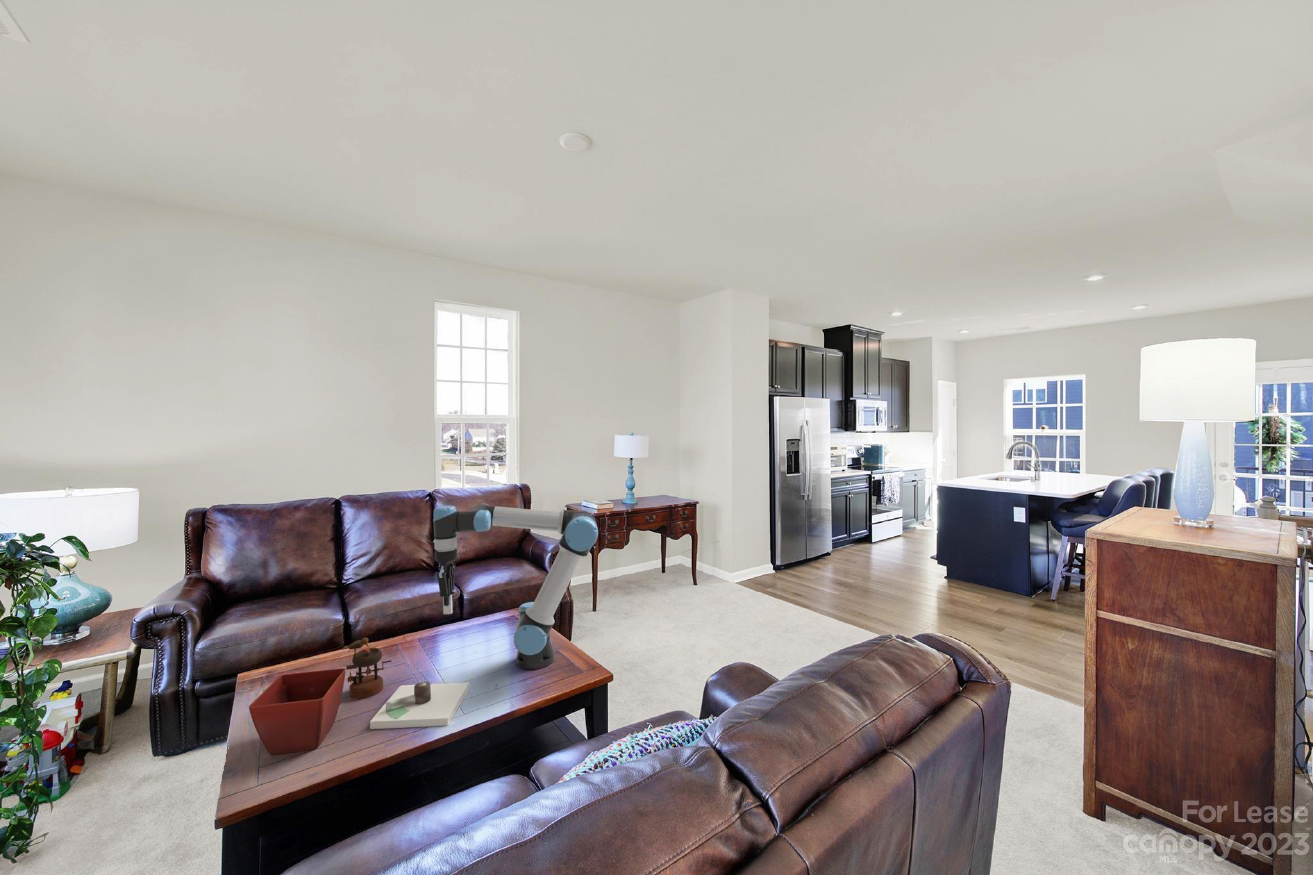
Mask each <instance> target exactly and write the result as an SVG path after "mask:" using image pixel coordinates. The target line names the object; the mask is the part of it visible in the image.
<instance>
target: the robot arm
mask: <svg viewBox="0 0 1313 875" xmlns="http://www.w3.org/2000/svg"><path fill="white" fill-rule="evenodd" d="M432 523H433V536H434V537H433V538H434V540H433V541H432V543H433V544H434V550H435V551H434V560H435V561H436V562H437V563H439V566H438V571H439V572H437V573H436V578H437V582H438V588H439V597H440V598H442V609H443V615H452V614H453V595H454V594H455V576H456V575H455V574H456V565H457V564H456V563H455V562H454V561H455V560H457V559H458V549H457V547H458V543H457V542H458V538H457V537H458V536H457V533H474V532H479V533H481V532H485V531H487V532H488V531H489V530H490V529H491V526H495V527H505V528H515V529H516V528H517V529H527V530H538V531H539V530H540V531H551V532H558V533H559V535H561V537H560V540H559V542H558V546H559V550H558V553H557V554H556V557H555V559H554V561H553V564H552V565H551V567H550V569H549V571H548V573H547V575H546V576H545V579H544V581H543V584H542V585H541V588H540V590H539V591H538V593H537V596H536V598H535V600H534V601H530V602H529V601H528V602H525V603H522V604H521V605H520V606H519V607H518V613H519V614H518V615H519V616H518V618H519V619H518V623H517V625H516V629H515V632H514V634H513V644H514V646H515V648H516V649H517V653H516V656H515V665H516V666H517V667H519V668H521V669H525V670H536V669H537V670H538V669H542V668H546V667H548V666H549V665H551V664H552V663H553V662H555V659H556V653H555V649H554V647H553V644H552V640H551V631H552V628H553V626H554V624H555V619H554V615H555V613H556V611H557V609H558V607H559V605H560V603H561V600H562V598H563V596H564V595H565V592H566V590H567V589H568V586H569V584H570V582H571V580H572V578H573V576H574V574H575V572H576V570H577V568H578V566H579V565H580V564H579V563H580V561H581V560H582V559H584V558H587V557H588V554H589V552H590V550H591V549H592V547H593V546H594V545H595V544H596V542H597V540H598V536H599V529H598V525H597V519H596V518H595V516H594V515H592V514H591V513H590V512H588V511H584V510H569V509H568V510H567V509H562V510H561V511H550V510H538V509H528V508H517V507H507V506H506V507H505V506H498V505H497V506H495V505H489V504H487V503H479V504H478V503H477V504H476V505H475V506H473V507H472V508H471V509H470V510H463V511H459V510H457V508H456V506H454V505H441V506H436V507H435V508H434V509H433V519H432Z"/></svg>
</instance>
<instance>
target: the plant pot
mask: <svg viewBox="0 0 1313 875" xmlns="http://www.w3.org/2000/svg"><path fill="white" fill-rule="evenodd" d="M346 671H347V670H346V668H344V667H343V668H342V667H341V668H333V669H332V668H331V669H323V670H313V671H302V672H294V673H293V672H292V673H284V674H280V675H279V676H278V677H277V678H276V679H274V681H273V682H272V683H271V684H270V685H269V686H267V688H266V689H265V690H264V691H263V692H262V693H261V694H260V695H259V696H258V697H256V699H254V701H252V702H251V703H250V704H249V706H248V710H249V713H250V717H251V720H252V723H253V726H254V728H255V731H256V733H257V735H258V737H259V739H260V740H261V742H262V745H263V746H264V747H265V749H266V750H267V752H268V753H269V755H275V756H276V755H281V754H289V753H296V752H303V751H312V750H316V749H317V748H319V747H320V745H322V742H323V741H324V739H325V738H326V737H327V735H328V734H329V732H330V731H331V730H332V728H333V726H334V724H335V721H336V719H337V714H338V711H339V709H340V708H339V707H340V703H341V699H342V695H343V690H344V685H345V679H346Z"/></svg>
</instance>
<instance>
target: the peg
mask: <svg viewBox="0 0 1313 875" xmlns="http://www.w3.org/2000/svg"><path fill="white" fill-rule="evenodd" d="M430 684H431V683H430V681H422V682H418V683H416V684H414V685H415V686H414V695H410V696H407V697H404V698H400V699H397V700H394V701H390V702H387V701H386V702H385V703H386V711H390V710H393V709H396V708H399V707H403V706H406V705H409V704H412V703H416V704H424V703H427V702H428V701H430V699H431V688H430Z"/></svg>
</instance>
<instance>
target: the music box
mask: <svg viewBox="0 0 1313 875" xmlns="http://www.w3.org/2000/svg"><path fill="white" fill-rule="evenodd" d="M364 646H367V647H366V648H364V649H361V648H363V647H364ZM346 649H348V656H349V658H348V659H349V660H351V655H350V652H351V650H354V652H353V656H352V661H351V662H352V664H349V665H346V666H345V667H346V668H345V669H346V671H347V670H349V676H348V677H347V683H350V685H349V697H350V698H352V699H353V700H364V699H368V698H372V697H374V696H376V695H378V694H380V693H381V692H382V691H383V689H384V678H383V677H382V676H381V675H378V672H380V671H381V670H382V671H383V670H384V668H385V667H384V664H387V663H391V662H392V660H391V659H390V660H385V661H381V659H382V658H383V652H382V650H381V649H380V648H377V647H369V638H368V637H363V638H361V639H358V640H356V641H354V642H352V643H351V644H349V645H344V646H343V647H342V650H346ZM358 649H361V650H359V651H357V650H358ZM380 661H381V664H382V665H381V667H380V668H379V667H378V663H379V662H380ZM372 666H373V669H371V667H372ZM362 668H366V669H365V671H362ZM354 669H358V670H356V671H355V675H354V676H353V675H352V672H351V671H350V670H354ZM372 672H374V674H372ZM364 674H366V675H364Z"/></svg>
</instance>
